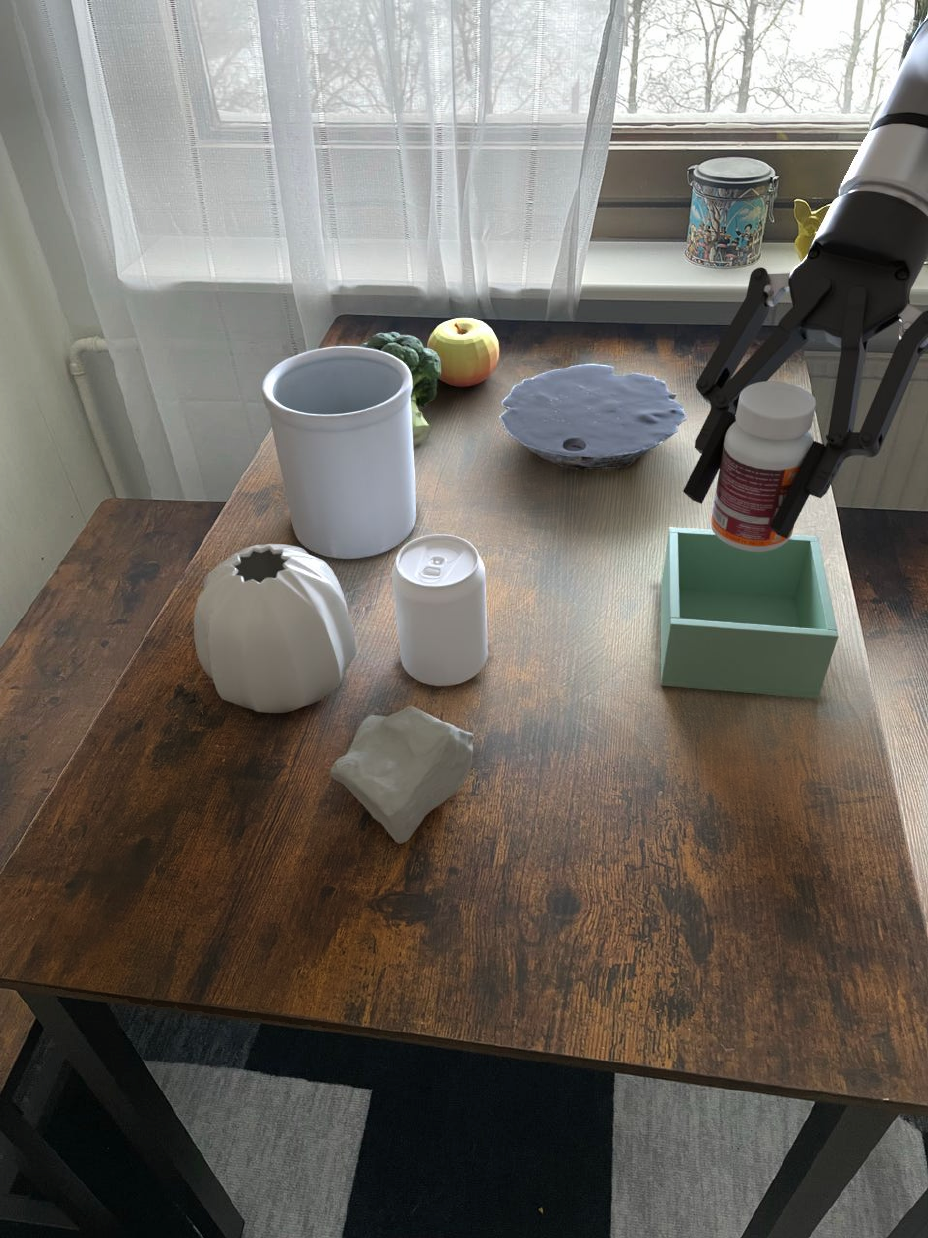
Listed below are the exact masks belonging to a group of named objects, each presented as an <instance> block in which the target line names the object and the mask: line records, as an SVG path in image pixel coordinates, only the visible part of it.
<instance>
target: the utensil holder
mask: <svg viewBox="0 0 928 1238" xmlns="http://www.w3.org/2000/svg"><path fill="white" fill-rule="evenodd" d="M411 393H412V375H411V372H410V370H409V368H408V367H407V366H406V365H405V364H404V363H403V362H402V361H401V360H399V359H398V358H396V357H394V356H392V355H390V354H388V353H385V352H382V351H379V350H374V349H369V348H362V347H359V346H343V345H342V346H341V345H340V346H329V347H322V348H316V349H312V350H308V351H305V352H302V353H299V354H296V355H294V356H291V357H288V358H286V359H284V360H283V361H280V362H279V363H278V364H276V365H275V366H274V367H272V368H271V369H270V370H269V371H268V372H267V374H266V375H265V377H264V378H263V381H262V383H261V394H262V399H263V403H264V406H265V408H266V409H267V410H268V414H269V419H270V424H271V430H272V435H273V440H274V445H275V450H276V455H277V460H278V464H279V469H280V474H281V479H282V483H283V488H284V494H285V498H286V503H287V507H288V511H289V515H290V521H291V524H292V528H293V532H294V535H295V537H296V539H297V541H299V543H300V544H301V545H302V546H303V547H304V548H306V549H307V550H309V551H311V552H312V553H315V554H316V555H317V554H318V555H320V556H323V557H326V558H333V559H341V560H357V559H365V558H370V557H374V556H378V555H381V554H383V553H385V552H388V551H390V550H392V549H394V548H396V547H397V546H399V545H400V544H402V542H404V541H405V540H406V539H407V538H408V537H409V536H410V534H411V533H412V531H413V529H414V527H415V525H416V518H417V504H416V471H415V470H416V469H415V455H414V454H415V453H414V446H413V432H412V411H411V397H410V396H411Z"/></svg>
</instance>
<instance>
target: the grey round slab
mask: <svg viewBox="0 0 928 1238" xmlns="http://www.w3.org/2000/svg"><path fill="white" fill-rule="evenodd" d="M614 369H615V367H613V366H611V365H605V364H598V363H583V364H578V365H572V366H569V367H565V368H558V369H552V370H549V371H545V372H543V373H540V374H538V375H534V376H533V377H528V378H525V379H523V380H521V381H522V382H520V383H518V384H514V385H513V386H512V388H511V390H510V393H509V394H508V395H507V396H506V397H505V398H503V400H502V401H500V402H501V405H502V407H503V408H505V409H506V410H505V411H504V412H503V413H501V415H499V416H498V418H499V419H500V422H501V423H502V427H504V430H506V432H507V433H508V435H509V436H511V437H512V438H513V439H515V440H516V441H517V442H519V443H520V444H521V445H523V446H525V447H526V448H527V449H528V450H529V451H531V452H532V453H534V454H535V455H536V456H539V458H542V459H543V460H546V461H548V462H550V463H552V464H555V465H558V466H560V467H563V468H569V469H575V470H579V471H584V470H592V469H593V470H601V469H618V468H626V467H628V466H631V465H632V464H633V463H634V462H635V461H636V460H637V459H638V458H640V457H641V456H644V455H645V454H647V453H649V452H650V451H652V450H654V449H656V447H658V446H660V445H661V444H662V443H664V442H665V441H667V440H668V439H669V438H670V437H672V436H673V435H674V434H677V433H679V432H678V431H679V428H678V427H679V426H680V425H681V424H683V423H684V422H685V421H687V416H686V415H687V414H686V411H685V410H684V407H683V405H682V404H681V403H680V402H678V401H677V400H675V398H676V397H677V393H674V392H672V391H670V390H669V389H668V383H667V382H666V381H664V380H662V379H657V376H655V375H647V374H643V373H640V372H631V373H630V372H629V373H627V374H624V375H616V374H614Z"/></svg>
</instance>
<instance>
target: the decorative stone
mask: <svg viewBox="0 0 928 1238" xmlns="http://www.w3.org/2000/svg"><path fill="white" fill-rule="evenodd" d="M474 738H475V737H474V734H473V733H472V732H468V731H465V730H463V729H461V728H459V727H456V725H454V724H452V723H449V722H446V721H442V720H441V719H439V718H437V717H434V716H432V715H431V714H429V713H427V712H425V711H423V710H421V709H419V708H417V707H415V706H413V705H408V706H407V707H405V708H404V709H402V710H399V711H397V712H395V713H392V714H390V715H388V716H386V715H378V714H377V715H374V714H370V715H369V716H367V717H366V718H365V719H364V720H363V721H362V722H361V724H360V725H359V727H358V729H357V731H356V734H355V736H354V738H353V740H352V743H351V745H350V747H349V749H348V750H347V752H346V753H345V755H344V756H341V757H339V758H338V759H337V760H336V761H335V762H334V763H333V764H332V767H331V769H330V770H329V773H330V777H331V778H332V779H333V780H336V781H337V782H338V783H340V784H341V785H344V787H346V788H347V790H348V791H349V792H350V793H351V794H352V795H353V796H354V797H355V798H356V800H358V801H359V802H360V803H361V804H362V805H363V807H364V808H365V809H366V810H367V811H368V813H370V816H371V817H372V818H373V819H374V820H375V821H376V822H378V823H380V824H381V825H382V827H383V828H384V829H385V830H386V832H387V833H388V834H389V836H390V837H391V838H392V839H393V840H394V841H395V843H396V844H399V845H400V844H401V845H402V844H404V843H406V842H408V841H409V840H410V839H411V838H412V837H413V834H414V833H415V831H416V830H417V829H418V827H420V825H421V823H422V822H423V820H424V818H425V817H426V815H428V814H430V812H432V810H434V809H435V808H437V807H439V806H440V805H442V804H443V803H444V802H445V801H446V800H447V799H449V798H451V797H453V796H454V795H456V793H458V792H459V791H460V789H461V788H462V786H463V785H464V784H465V782H466V780H467V778H468V776H469V774H470V771H471V769H472V763H473V753H474V745H473V744H474Z"/></svg>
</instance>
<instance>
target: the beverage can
mask: <svg viewBox="0 0 928 1238" xmlns="http://www.w3.org/2000/svg"><path fill="white" fill-rule="evenodd" d="M390 579H391V587H392V596H393V604H394V612H395V614H394V615H395V619H396V620H395V621H396V629H397V638H398V647H399V655H400V663H401V665H402V667H403V669H404V670H405V672H406V673H407V674H408V675H409V676H410V677H411V678H413V679H415V680H416V681H418V682H420V683H423V684H426V685H428V686H429V685H430V686H434V687H449V686H455V685H459V684H462V683H465V682H467V681H469V680H471V679H472V678H474V677H475V676H477V675H478V674H479V673H480V672H481V671H482V670H483V668H484V667H485V665H486V663H487V660H488V654H489V653H488V652H489V651H488V620H487V618H488V617H487V585H486V568H485V564H484V561H483V559H482V558H481V556H480V555H479V551H478V550H477V548H476V547H475V546H474V545H473V544H472V543H471V542H469V541H468V540H466V539H464V538H462V537H459V536H456V535H453V534H452V535H451V534H442V533H439V534H438V533H437V534H428V535H424V536H421V537H418V538H415V539H413V540H411V541H409V542H408V543H406V544H404V545H403V546H402V547H401V548H400V550H399V551H398V553H397V555H396V556H395V562H394V563H393V566H392V568H391V573H390Z"/></svg>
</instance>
